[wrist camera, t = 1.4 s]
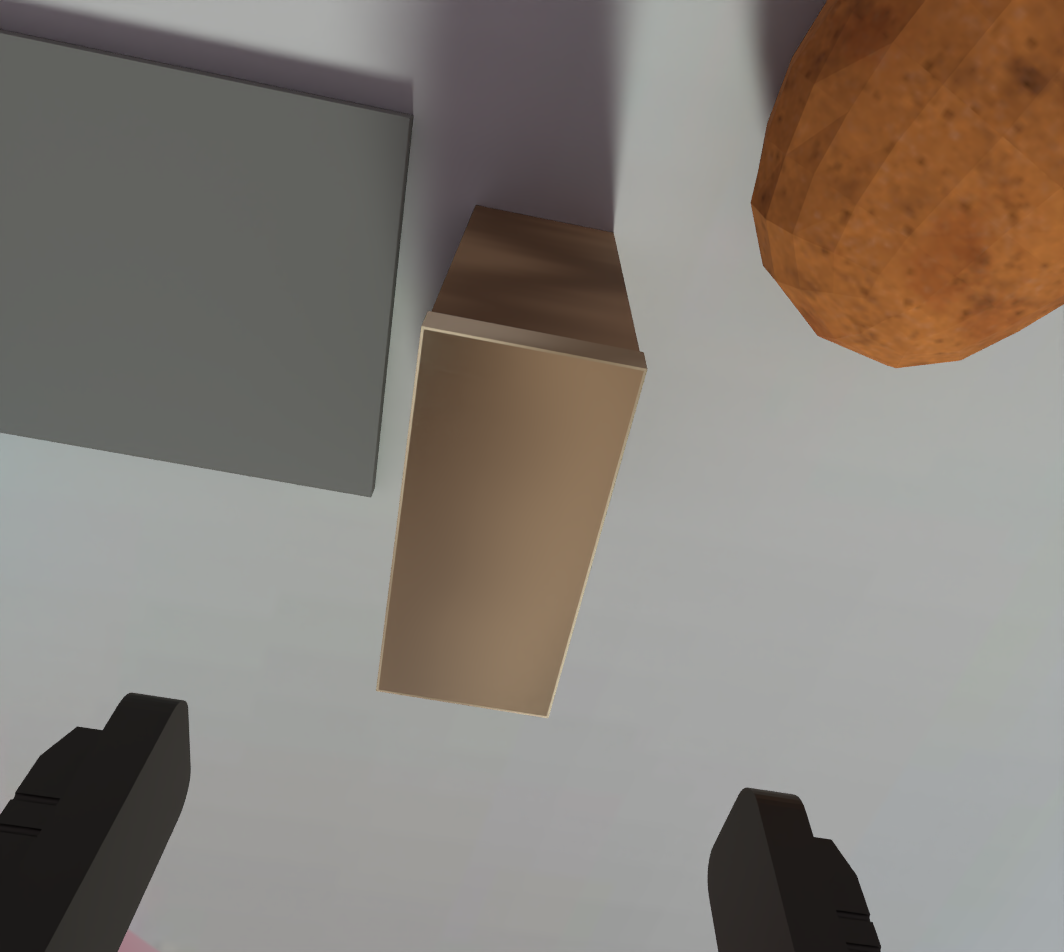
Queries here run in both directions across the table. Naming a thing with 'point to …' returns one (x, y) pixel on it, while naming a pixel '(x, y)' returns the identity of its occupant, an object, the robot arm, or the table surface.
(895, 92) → the potato
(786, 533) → the table surface
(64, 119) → the mat
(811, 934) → the robot arm
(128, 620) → the table surface
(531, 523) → the slab
